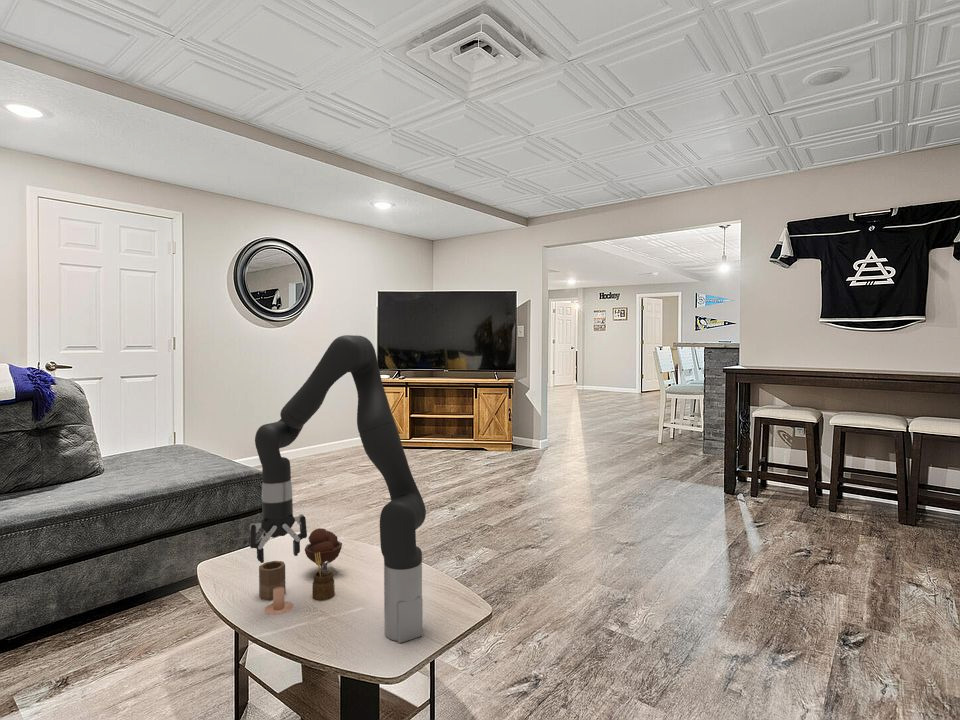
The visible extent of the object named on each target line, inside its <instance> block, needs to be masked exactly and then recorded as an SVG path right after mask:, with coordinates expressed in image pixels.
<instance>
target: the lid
mask: <svg viewBox="0 0 960 720" xmlns="http://www.w3.org/2000/svg"><path fill="white" fill-rule="evenodd" d="M285 595H286V594H285ZM285 595H284V587H276V588H274V589H273V600H272V602H273V603H271V604H268V605H267V606H266V607H265V608H264V610H263V611H264V613H266V614H267V615H271V616H275V615H276V616H277V615H283V614H286V613H288V612H290V611H291V610H292V609H294V604H293V602H291V601H286V600H285V599H286V597H285Z"/></svg>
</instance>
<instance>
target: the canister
mask: <svg viewBox="0 0 960 720" xmlns="http://www.w3.org/2000/svg"><path fill="white" fill-rule="evenodd" d="M276 587H284V595H286V563H285V562H284V561H281V560H272V561H266V562H264V563H261V564H260V565H259V566H258V592H259V593H258V596H259V598H260V600H263V601H273V589H274V588H276Z"/></svg>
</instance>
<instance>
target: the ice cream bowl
mask: <svg viewBox="0 0 960 720" xmlns="http://www.w3.org/2000/svg"><path fill="white" fill-rule="evenodd" d="M309 534H310V535H308V542H309V543H307V544H306V546H305V548H304V552H305V553H304V554H305V555H306V557H307V558H308V559H309V561H311V562H312V563H314V564H316V560H315V553H316V558H317V553H318V558H319V552H320V557H321V564H320V571H322V570H328V564H331V563H332V562H334V561H335V560H336V559H337V558H338V557H339V555H340V553H341V550H342V548H343V543H342V542H341V541H339V540H338V536H337V535H336V534H335V533H334V532H332V531H330V530H327V529H326V528H320V527H319V528H315V529H314V530H313V531H311V532H310V533H309ZM317 561H318V560H317ZM326 561H328V564H327V563H326ZM324 562H325V563H324ZM322 564H324V565H322ZM325 566H326V567H325ZM322 568H323V569H322Z"/></svg>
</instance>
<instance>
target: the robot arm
mask: <svg viewBox="0 0 960 720" xmlns="http://www.w3.org/2000/svg"><path fill="white" fill-rule="evenodd" d="M348 373H350V374H351V377H352V379H353V382H354V385H355V388H356V393H357V410H356V411H357V412H356V426H357V430H358V433H359V438H360V440H361V443H362V444H361V445H362V446H363V449H364V451H365V453H366V456H367V457H368V458H369V460H370V461H371V462H372V464H373V465H374V466H375V468H376V469H377V470H378V471H379V473H380V474H381V475H382V477H383V479H384V481H385V484H386V486H387V489H388V490H387V491H388V492H389V493H388V494H389V497H390V501H389V502H388V503H386V504H385V505H384V506H383V508H382V509H381V512H380V516H379V539H380V541H379V542H380V543H379V544H380V550H381V554H382V556H383V570H384V571H383V580H384V581H383V587H384V589H383V593H384V594H383V595H384V597H383V602H384V604H383V607H384V608H383V610H384V612H383V614H384V616H383V617H384V620H383V622H384V635H385V637H386V638H388V639H389V640H391V641H396V642H397V643H398V644H400V643H404V642H407V641H410V640H414V639H417V637H418V638H420V636H421V637H422V635H423V634H424V633H423V622H424V621H423V551H422V550H421V548H420V547H419V546H417V540H416V539H417V536H416V530H417V529H419V528H420V527H421V526H422V525H423V524H424V523H425V520H426V515H427V510H426V505H425V502H424V499H423V497H422V495H421V493H420V491H419V488H418V485H417V483H416V482H415V479H414V476H413V474H412V471H411V469H410V465H409V462H408V459H407V456H406V452H405V450H404V446H403V443H402V439H401V437H400V433H399V429H398V426H397V424H396V420H395V419H394V416H393V412H392V409H391V406H390V404H389V403H390V402H389V400H388V397H387V394H386V391H385V388H384V384H383V381H382V376H381V371H380V368H379V362H378V357H377V352H376V350H375V346H374V344H373V343H372V342H371V340H370V339H368V338H367V337H366V336H362V335H353V334H349V335H348V334H346V335H345V334H344V335H340V336H338V337H336V338H335V339H333V340H332V341H331V343H330V345H329V346H328V347H327V349H326V350H325V352H324V354H323V355H322V357H321V358H320V361H319V362H318V363H317V364H316V367H315V368H314V370H313V371H312V372H311V374H310V375H309V377H308V378H307V380H305V382H304V383H303V384H302V386H301V387H300V388H299V389H298V390H297V391H296V392H295V394H293V396H292V397H291V398H290V399H289V400H288V401H287V402H286V403H285V404H284V405H283V407H282V408H281V411H280V414H279V415H280V419H279V420H278V421H274V422H271V423H270V422H269V423H265V424H262V425H261V426H259V427H258V428H257V430H256V433H255V437H254V444H255V448H256V452H257V455H258V458H259V461H260V465H261V468H262V470H261V471H262V472H261V473H262V477H261V479H262V486H261V495H260V496H261V509H262V512H261V513H262V518H261V519H262V520H261V522H258V523H257V522H256V523H255V522H251V523H250V524H249V527H248V528H249V531H248V545H249V547H250V549H256V559H257V561H258V562H260V564H264V563H265V553H264V551H265V550H264V546H265V544H267V542H269V540H270V539H271V538H273V539H275V538H277V537H285V536H286V535H287V534H288V535H289V536H290V537H291V538H292V539H293V540H292V553H293V556H295V557H297V556H299V555H298V554H300V552H301V543H300V542H301V541H302V540H303V539H306V538H307V537H308V530H307V521H306V517H305V515H304V514H303V513H301V514H299V515H298V516H294V509H293V504H294V503H293V486H292V475H291V473H292V472H291V471H292V469H291V461H290V459H289V458H287V457H284V456H281V455H282V454H281V452H280V451H281V450H280V449H281V448H282V449H284V448H286V447H288V446H290V445H291V444H293V442H295V440H296V439H297V438H298V436H299V435H300V433H301V431H302V430H303V428H304V425H305V424H306V423H307V422H308V421H309V420H310V419H312V417H313V416H314V415H315V414H316V413H317V412H318V410H319V409H320V408H321V406H322V404H323V403H324V400H325V399H326V396H327V394H328V392H329V390H330V389H331V387H332V386H333V385H334V384H335V383H336V382H337V381H339V379H341V378H342V377H343V376H345V375H346V374H348ZM295 522H296V524H298V525H299V532H300V533H298V534H297V533H296V532H295V531H294V529H292V528H293V525H294V524H295ZM260 528H261V529H262V530H263V533H261V536H260V538H259V539H258V541H257V540H256V538H257V537H256V536H257V533H258V532H259V531H260ZM423 636H424V635H423Z"/></svg>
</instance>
